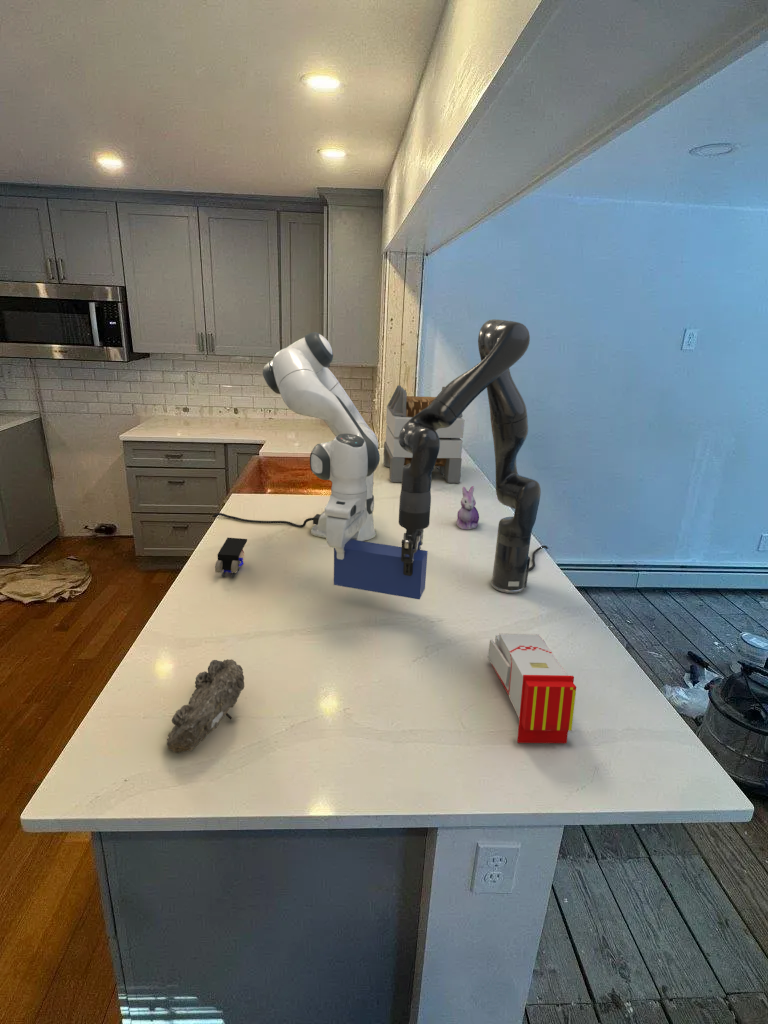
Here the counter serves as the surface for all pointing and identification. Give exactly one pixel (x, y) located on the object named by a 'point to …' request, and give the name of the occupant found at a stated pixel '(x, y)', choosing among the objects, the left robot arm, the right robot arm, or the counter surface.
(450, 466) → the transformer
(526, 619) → the counter surface
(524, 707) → the toy
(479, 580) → the counter surface
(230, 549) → the figurine character
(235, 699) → the fossil
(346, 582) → the box
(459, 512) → the figurine
